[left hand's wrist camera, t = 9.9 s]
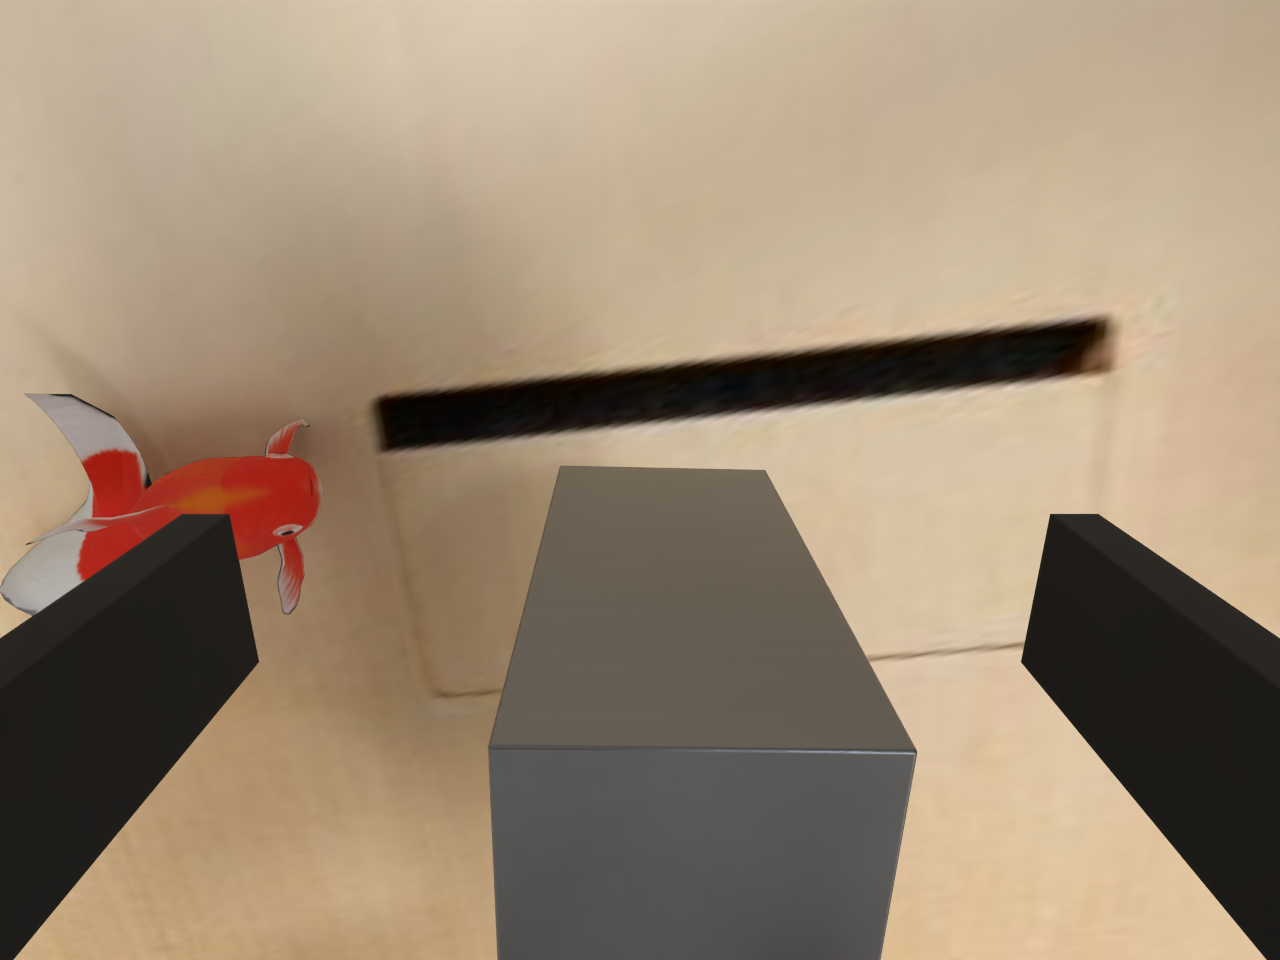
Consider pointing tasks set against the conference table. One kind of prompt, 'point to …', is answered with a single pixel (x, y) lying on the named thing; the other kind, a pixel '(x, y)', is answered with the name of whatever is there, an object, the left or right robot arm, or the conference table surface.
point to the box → (689, 736)
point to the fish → (163, 505)
